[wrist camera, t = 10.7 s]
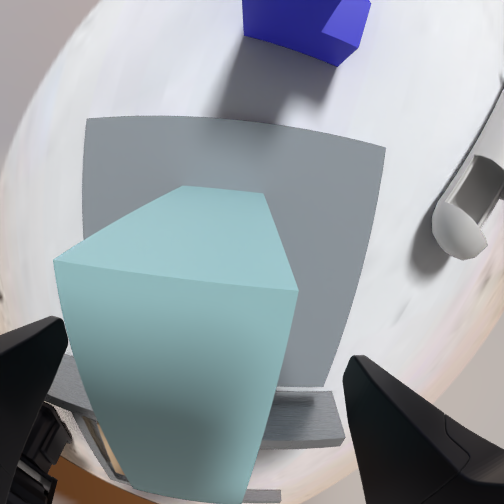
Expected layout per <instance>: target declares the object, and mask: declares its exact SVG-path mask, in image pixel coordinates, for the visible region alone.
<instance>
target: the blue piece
mask: <svg viewBox="0 0 504 504" xmlns="http://www.w3.org/2000/svg"><path fill="white" fill-rule="evenodd" d="M370 6H371V3H370V1H369V0H242V9H243V28H244V36H248V37H252V38H255V39H259V40H263V41H266V42H270V43H273V44H276V45H280V46H283V47H286V48H289V49H292V50H295V51H298V52H300V53H303V54H306V55H309V56H311V57H314V58H316V59H319V60H322V61H324V62H327V63H329V64H331V65H334V66H336V67H338V66H339V65H340V64H341V63H342V62H343V61H344V60H345V59H346V58H348V57H349V56H350V55H351V54H352V53H353V52H354V51H355V50H357V49H358V47H359V44H360V41H361V37H362V34H363V30H364V27H365V24H366V20H367V17H368V13H369V9H370Z"/></svg>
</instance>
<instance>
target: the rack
mask: <svg viewBox="0 0 504 504" xmlns="http://www.w3.org/2000/svg"><path fill="white" fill-rule="evenodd" d="M44 401H46V402H49V403H51V404H53V405H56V406H58V407H61V408H63V409H66V410H68V411H71V412H72V414H73V416H74V418H75V420H76V422H77V424H78V426H79V428H80V430H81V432H82V434H83V435H84V437H85V439H86V441H87V443H88V444H89V446H90V448H91V449H92V451H93V453H94V454H95V456H96V458H97V459H98V461H99V462H100V464H101V466H102V467H103V469H104V470H105V472H106V473H107V475H108V476H109V478H110V479H111V480H114V481H118V482H121V483H124V484H128V485H131V484H130V482H129V481H128V479H127V477H126V476H125V475H122V474H119V473H116V472H115V470H114V467H113V465H112V463H111V460H110V458H109V455H108V453H107V450H106V448H105V445H104V442H103V440H102V437H101V434H100V431H99V429H98V426H97V423H96V421H97V418H96V416H95V414H94V411H93V409H92V406H91V404H90V401H89V399H88V396H87V394H86V391H85V388H84V386H83V383H82V380H81V377H80V374H79V371H78V368H77V365H76V362H75V359H74V357H72V356H69V355H66V354H64V356H63V358H62V361H61V363H60V366H59V368H58V371H57V373H56V376H55V378H54V381H53V383H52V385H51V387H50V389H49V391H48V393H47V396H46V398H45V400H44ZM95 420H96V421H95ZM345 438H346V437H345V434H344V430H343V427H342V424H341V420H340V417H339V414H338V410H337V407H336V404H335V400H334V397H333V394H332V391H329V392H290V391H275V394H274V398H273V402H272V406H271V409H270V413H269V417H268V420H267V424H266V427H265V431H264V434H263V438H262V441H261V444H260V448H259V449H307V448H324V447H336V446H340V445H341V444H342V442H343V441H344V439H345ZM280 502H281V490H246V492H245V495H244V498H243V501H242V503H280Z"/></svg>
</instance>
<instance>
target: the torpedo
mask: <svg viewBox="0 0 504 504" xmlns="http://www.w3.org/2000/svg"><path fill="white" fill-rule="evenodd" d="M499 199H502V200H504V89H503V91H502V93H501V95H500V97H499V99H498V101H497V104H496V106H495V108H494V110H493V112H492V114H491V115H490V117H489V119H488V121H487V123H486V125H485V127H484V129H483V130H482V132H481V134H480V136H479V138H478V139H477V141H476V143H475V145H474V146H473V148H472V150H471V151H470V153H469V155H468V156H467V158H466V160H465V161H464V163H463V165H462V166H461V168H460V169H459V171H458V173H457V174H456V176H455V177H454V179H453V180H452V182H451V183H450V185H449V186H448V188H447V189H446V191H445V192H444V194H443V195H442V197H441V198H440V199H439V201H438V202H437V205H436V207H435V210H434V212H433V215H432V233H433V235H434V237H435V239H436V241H437V242H438V244H439V245H440V247H441V248H442V249H443V251H444V252H446V253H447V254H449V255H451V256H453V257H455V258H458V259H460V260H467V259H471V258H475V257H476V256H477V255H478V254H479V253H480V252H482V251H483V250H484V249H485V248H486V247H487V246H488V244H487V241H486V238H485V236H484V234H483V233H482V231H481V228H482V227H483V225H484V223H485V222H486V220H487V219H488V217H489V215H490V214H491V212H492V210H493V209H494V207H495V205H496V203H497V202H498V200H499Z"/></svg>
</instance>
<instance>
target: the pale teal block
mask: <svg viewBox="0 0 504 504" xmlns="http://www.w3.org/2000/svg"><path fill="white" fill-rule="evenodd" d="M53 263H54V270H55V277H56V283H57V289H58V294H59V299H60V304H61V309H62V313H63V318H64V322H65V326H66V330H67V334H68V338H69V341H70V345H71V349H72V352H73V355H74V359H75V362H76V365H77V368H78V371H79V374H80V377H81V380H82V383H83V386H84V388H85V391H86V394H87V396H88V399H89V401H90V404H91V406H92V409H93V411H94V414H95V416H96V418H97V421H98V423H99V425H100V427H101V429H102V432H103V434H104V436H105V438H106V440H107V442H108V444H109V446H110V448H111V450H112V452H113V454H114V456H115V458H116V460H117V461H118V463H119V465H120V467H121V469H122V471H123V472H124V474H125V476H126V477H127V479H128V481H129V482H130V484H131V486H132V487H133V489H137V490H141V491H145V492H149V493H153V494H158V495H162V496H167V497H173V498H178V499H184V500H191V501H198V502H206V503H216V504H242V501H243V498H244V495H245V492H246V489H247V486H248V483H249V480H250V477H251V474H252V470H253V467H254V464H255V461H256V458H257V454H258V451H259V448H260V444H261V441H262V438H263V434H264V431H265V427H266V424H267V420H268V417H269V413H270V409H271V406H272V402H273V398H274V394H275V391H276V387H277V383H278V379H279V375H280V371H281V367H282V363H283V359H284V355H285V351H286V346H287V342H288V338H289V333H290V329H291V325H292V320H293V316H294V311H295V306H296V302H297V297H298V292H299V290H298V287H297V284H296V281H295V279H294V276H293V273H292V270H291V267H290V264H289V262H288V259H287V256H286V253H285V250H284V248H283V245H282V242H281V239H280V237H279V234H278V231H277V228H276V226H275V223H274V220H273V218H272V215H271V212H270V209H269V207H268V204H267V201H266V199H265V196H264V194H263V193H255V192H246V191H237V190H227V189H217V188H206V187H195V186H181V187H179V188H177V189H175V190H173V191H171V192H169V193H167V194H165V195H163V196H161V197H159V198H157V199H155V200H153V201H151V202H150V203H148V204H146V205H144V206H142V207H140V208H138V209H137V210H135V211H133V212H131V213H129V214H127V215H126V216H124V217H122V218H120V219H119V220H117V221H115V222H113V223H112V224H110V225H108V226H106V227H105V228H103V229H101V230H100V231H98V232H96V233H95V234H93V235H91V236H90V237H88V238H86V239H85V240H83V241H82V242H80V243H78V244H77V245H75V246H74V247H72V248H70V249H69V250H67V251H66V252H64V253H63V254H61V255H60V256H58V257H57V258H55V259H54V260H53Z"/></svg>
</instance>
